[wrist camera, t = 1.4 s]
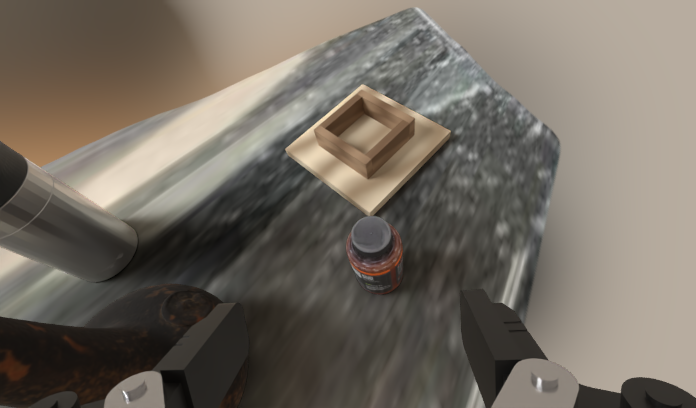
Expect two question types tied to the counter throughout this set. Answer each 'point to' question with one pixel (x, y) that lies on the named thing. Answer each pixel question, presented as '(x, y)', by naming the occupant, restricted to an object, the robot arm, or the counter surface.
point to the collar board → (368, 148)
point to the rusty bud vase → (102, 347)
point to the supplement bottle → (375, 254)
